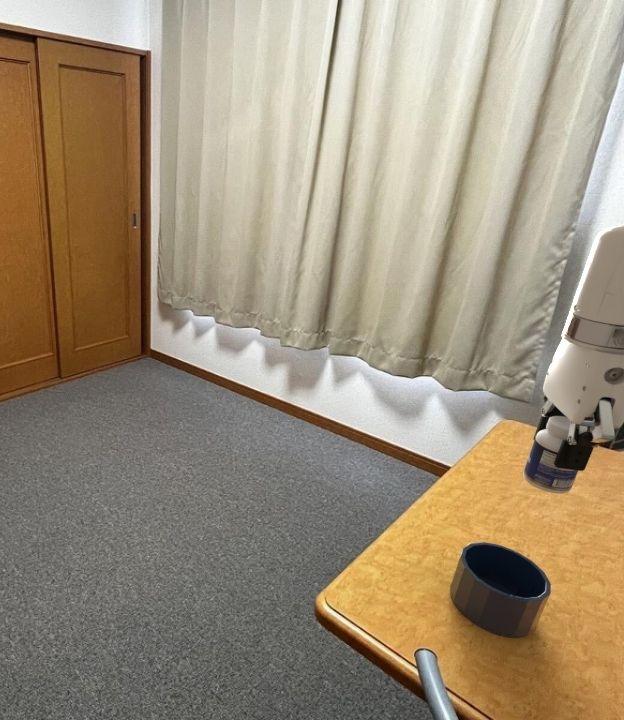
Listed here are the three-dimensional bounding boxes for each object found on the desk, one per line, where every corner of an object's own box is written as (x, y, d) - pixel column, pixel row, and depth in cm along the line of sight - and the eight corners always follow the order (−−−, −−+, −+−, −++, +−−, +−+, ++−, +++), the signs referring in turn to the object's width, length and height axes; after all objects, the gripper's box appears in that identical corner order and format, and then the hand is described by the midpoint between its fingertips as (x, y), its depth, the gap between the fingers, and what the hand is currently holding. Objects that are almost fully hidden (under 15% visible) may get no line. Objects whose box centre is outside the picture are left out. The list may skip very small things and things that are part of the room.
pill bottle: (525, 466, 71) (546, 409, 67) (572, 482, 67) (597, 422, 63) (518, 483, 67) (539, 423, 63) (567, 500, 64) (592, 438, 60)
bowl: (517, 585, 66) (531, 550, 64) (548, 646, 58) (565, 609, 56) (441, 570, 69) (452, 536, 66) (461, 627, 61) (474, 590, 58)
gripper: (695, 361, 49) (628, 499, 57) (602, 312, 64) (559, 426, 72) (607, 354, 51) (553, 489, 59) (537, 308, 67) (501, 420, 74)
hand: (557, 453), depth 65 cm, fingers closed on pill bottle, 5 cm apart
